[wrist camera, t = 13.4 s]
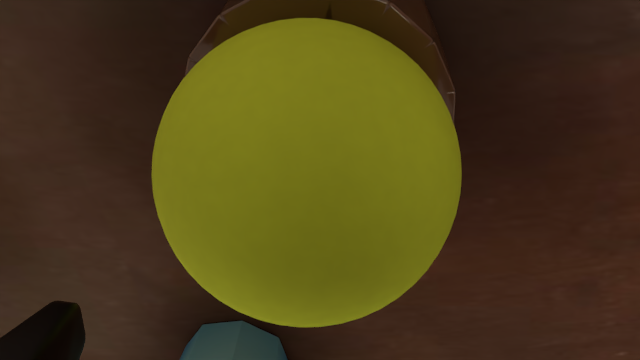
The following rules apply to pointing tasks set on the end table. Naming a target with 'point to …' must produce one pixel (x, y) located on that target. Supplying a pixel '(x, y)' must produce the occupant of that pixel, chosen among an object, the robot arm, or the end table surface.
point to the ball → (306, 172)
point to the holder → (349, 7)
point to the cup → (233, 343)
